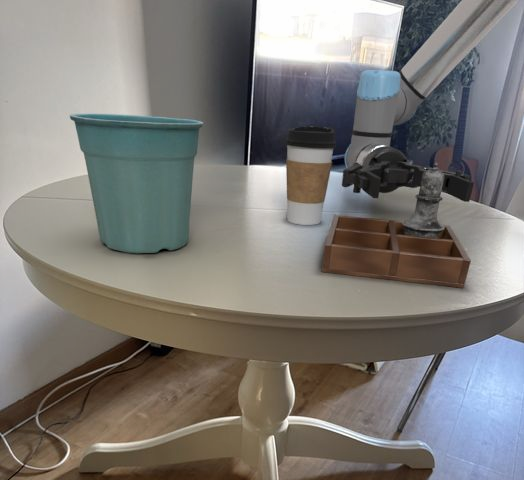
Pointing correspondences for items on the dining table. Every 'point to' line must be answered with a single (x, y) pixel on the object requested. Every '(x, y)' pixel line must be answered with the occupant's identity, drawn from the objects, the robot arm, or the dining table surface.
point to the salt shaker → (426, 206)
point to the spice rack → (393, 253)
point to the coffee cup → (308, 172)
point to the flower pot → (139, 178)
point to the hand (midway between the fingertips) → (423, 190)
